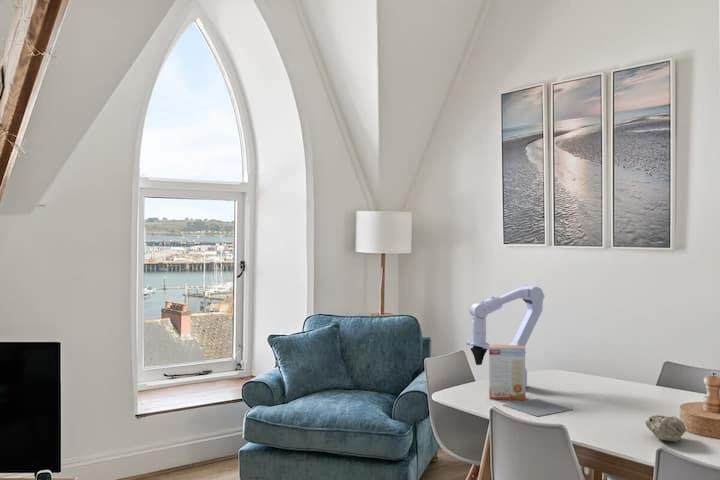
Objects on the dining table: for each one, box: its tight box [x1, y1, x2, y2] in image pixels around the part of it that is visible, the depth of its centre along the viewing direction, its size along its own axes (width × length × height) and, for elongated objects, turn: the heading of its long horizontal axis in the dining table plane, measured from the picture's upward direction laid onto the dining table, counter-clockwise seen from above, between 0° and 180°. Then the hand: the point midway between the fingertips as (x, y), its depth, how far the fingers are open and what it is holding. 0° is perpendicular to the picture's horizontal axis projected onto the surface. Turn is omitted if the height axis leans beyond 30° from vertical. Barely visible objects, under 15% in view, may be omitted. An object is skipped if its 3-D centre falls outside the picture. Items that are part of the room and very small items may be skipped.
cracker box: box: [488, 344, 526, 401], centre depth 266 cm, size 14×6×21 cm, turn 78°
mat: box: [502, 398, 574, 418], centre depth 252 cm, size 18×18×1 cm
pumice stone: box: [645, 414, 687, 443], centre depth 212 cm, size 14×12×8 cm
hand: (478, 364), depth 281 cm, fingers closed
